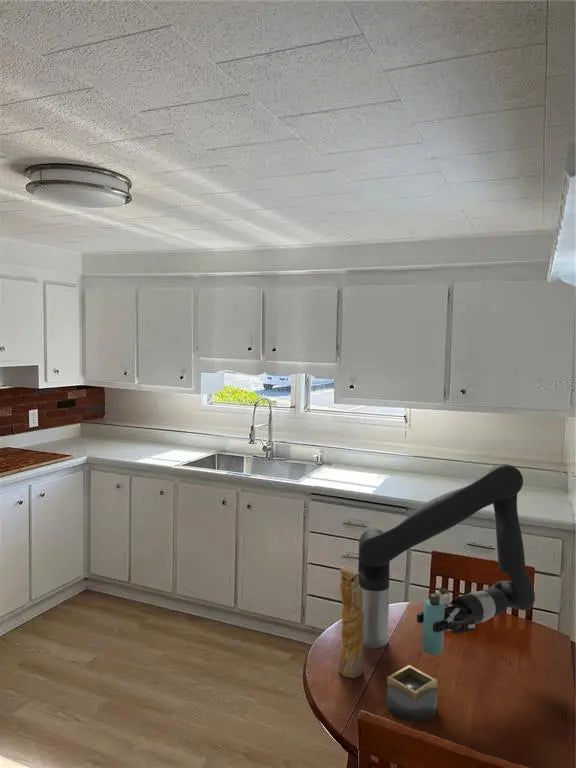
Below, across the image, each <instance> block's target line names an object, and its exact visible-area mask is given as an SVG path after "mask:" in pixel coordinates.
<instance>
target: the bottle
mask: <svg viewBox="0 0 576 768" xmlns="http://www.w3.org/2000/svg"><path fill="white" fill-rule="evenodd" d="M423 612H424V622H422V623H423V625H422V627H423V629H422V630H423V631H422V651H423V652H424V653H426V654H428V655H432V656H439V655H442V654H443V652H444V635H445V634H444V633H445V630H444V631H441V632H437V633H435V632H433V624H434V623H436V622H439V621H442V620H444V614H445V604H444V602H442V601H440V596H439V595H438V594H437V593H430V594H429V598H428V599H425V600H424V602H423Z"/></svg>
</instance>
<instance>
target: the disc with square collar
mask: <svg viewBox="0 0 576 768" xmlns="http://www.w3.org/2000/svg"><path fill="white" fill-rule="evenodd" d="M437 699H438V680H437V679H436V678H434V677H433V676H430V675H429V674H427V673H424V672H423V671H421V670H419V669H418V668H416V667H414V666H412V665H410V664H408V665H406V666H405V667H403V668H401V669H399V670H397V671H396V672H394V673H392V674H390V675H388V676H387V677H386V706H387V708H388V710H389V711H390V712H391V713H392V714H394V715H396V716H397V717H399V718H401V719H404V720H408V721H412V722H413V721H414V722H422V721H427V720H430V719H431V718H432V717H434V716H435V715H436V713H437V702H438V701H437Z"/></svg>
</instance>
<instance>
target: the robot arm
mask: <svg viewBox="0 0 576 768" xmlns="http://www.w3.org/2000/svg"><path fill="white" fill-rule="evenodd" d="M523 485H524V477H523V474H522V473H521V471H520V470H519V469H518V468H517V467H516V466H513V465H511V464H508V463H507V464H506V463H499V464H496V465H494V466H492V467H491V468H490V470H488V472H487V473H486V474H484V475H483V476H481V477H480V478H478V479H477V480H475V481H472V482H471V483H470V484H467V485H466V486H462V487H461V488H456V489H454V490H451V491H447V492H446V493H444V494H443V493H442V494H441V495H439V496H436V497H435V498H433V499H431V500H429V501H427V502H425V503H424V504H422V505H420V506H419V507H417V508H416V509H415V510H414V511H412V512H411V513H410V514H409V515H408V516H407V517H406V518H405V519H404V520H402V522H400V523H399V524H397V525H396V526H394V527H392V528H389V529H388V530H386V531H383V530H381V529H378V528H369V529H368V530H365V531H364V532H363V533H362V534H361V536H360V537H359V540H358V541H359V542H358V567H357V568H358V569H357V570H358V571H357V572H359V573H360V574H359V575H358V577H359V585H360V587H361V590H362V597H363V604H362V609H361V610H362V611H363V614H364V618H363V648H369V649H381V648H385V646H387V645H388V641H389V638H388V637H389V611H390V610H389V607H390V605H389V604H390V579H391V577H390V562H391V561H392V560H394V559H395V558H396V557H397V558H398V556H400V555H401V554H402V553H404V552H406V551H407V550H409V549H411V548H413V547H414V546H415V547H416V546H417V545H419V544H421V543H424V542H425V541H427V540H429V539H431V538H433V537H435V536H437V535H440V534H442V533H444V532H446V531H447V530H450V529H451V528H453V527H456V525H458V524H460V523H462V522H464V521H465V520H467V519H468V518H470V517H471V516H473V515H474V514H476V513H477V512H478V511H480V510H483V509H484V508H486V507H488V506H491V505H493V511H494V518H495V520H494V521H495V535H496V550H497V552H496V553H497V560H498V561H497V562H498V563H497V564H498V568H499V570H500V571H501V572H502V573H504V574H507V575H508V576H509V577H510V579H511V580H500V581H497V582H495V583H494V584H492V585H491V586H489V588H486V589H483V590H480V591H479V590H478V591H472V592H469V593H465V594H461V595H459V596H456V597H454V598H453V599H452V601H450V602H451V603H450V604H445V614H444V620H442V621H439V622H436V623H434V624H433V632H435V633H437V632H441V631H444V632H445V631H449V632H450V631H452V632H453V633H454V634H461V633H467V632H475V629H476V625H478V624H480V623H483V622H486V621H488V620H490V619H491V618H495V617H497V616H500V615H503V614H504V613H506V611H507V610H508V608H511V609H516V610H520V611H529V610H530V609H531V608H533V606H534V604H535V601H536V593H535V588H534V586H533V583H532V580H531V578H530V575H529V571H528V569H527V566H526V559H525V547H524V542H523V535H522V531H521V526H520V521H519V514H518V493H519V492H520V491H521V489H522V487H523ZM416 622H417V623H418V624H421V623H423V622H424V611H421V612H418V613H417V615H416ZM459 626H460V628H459Z"/></svg>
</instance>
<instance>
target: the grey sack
mask: <svg viewBox="0 0 576 768" xmlns="http://www.w3.org/2000/svg"><path fill="white" fill-rule="evenodd" d="M436 594H438V595H439V596H440V601H442V602H444V604H450V603H451V602H452V601H451V599H450V598H451V597H450V590H448V589H447V588H444V587H439V588H438V592H437V593H436Z"/></svg>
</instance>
